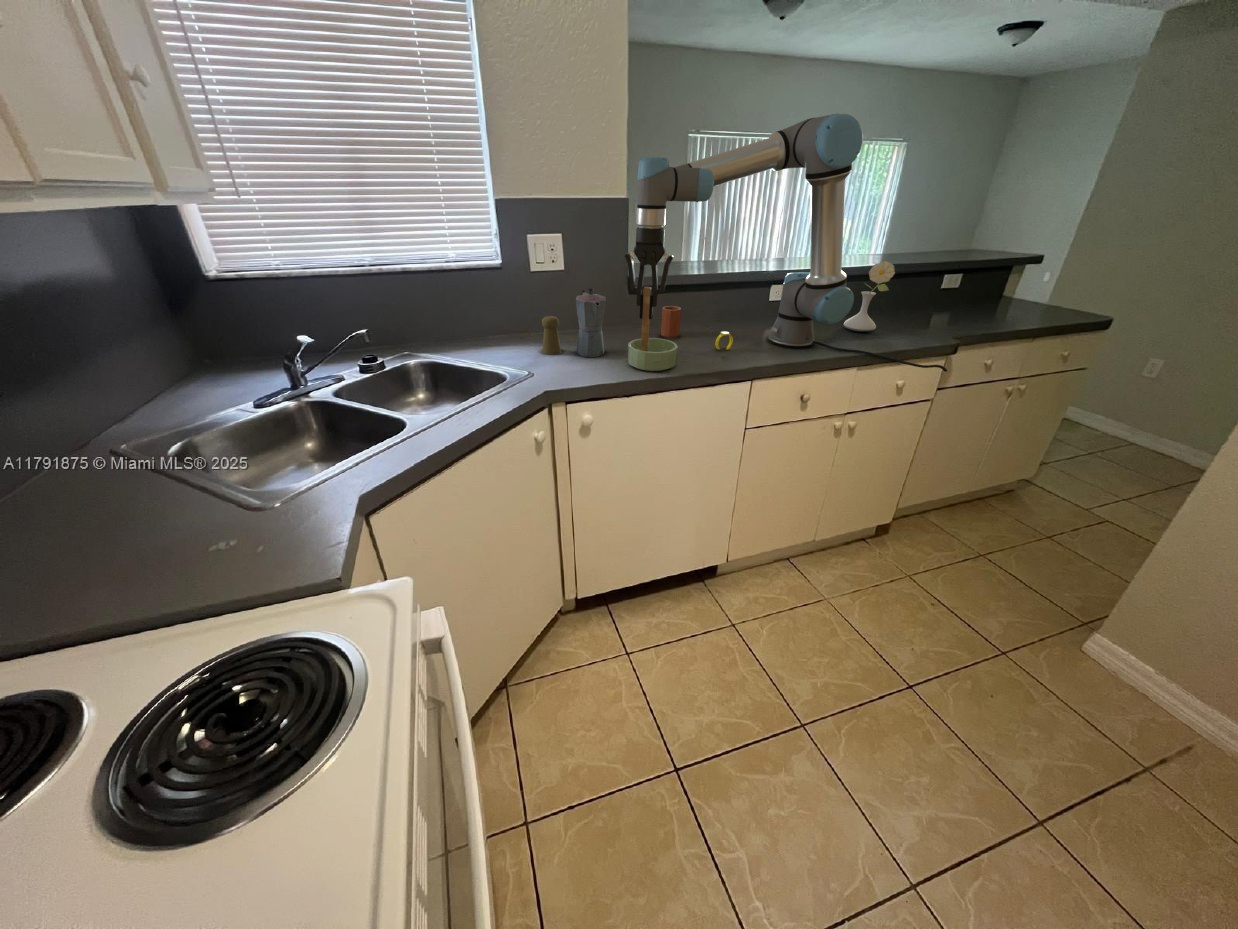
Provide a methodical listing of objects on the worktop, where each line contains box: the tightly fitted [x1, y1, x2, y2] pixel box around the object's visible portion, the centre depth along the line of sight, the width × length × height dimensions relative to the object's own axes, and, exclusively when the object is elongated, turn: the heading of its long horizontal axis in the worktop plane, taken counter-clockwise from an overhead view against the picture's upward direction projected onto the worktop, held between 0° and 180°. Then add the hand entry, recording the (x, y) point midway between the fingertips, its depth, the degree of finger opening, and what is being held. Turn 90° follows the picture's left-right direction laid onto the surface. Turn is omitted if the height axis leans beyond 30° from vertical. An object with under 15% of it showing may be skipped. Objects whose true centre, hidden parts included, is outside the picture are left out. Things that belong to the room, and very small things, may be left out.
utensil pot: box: [660, 305, 682, 338], centre depth 170 cm, size 6×6×10 cm
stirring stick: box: [640, 286, 653, 352], centre depth 140 cm, size 2×2×20 cm
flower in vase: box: [843, 260, 896, 333], centre depth 179 cm, size 13×11×25 cm
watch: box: [714, 330, 734, 351], centre depth 159 cm, size 6×3×6 cm, turn 115°
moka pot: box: [575, 288, 607, 358], centre depth 150 cm, size 10×15×20 cm, turn 27°
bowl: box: [627, 337, 678, 372], centre depth 145 cm, size 15×15×6 cm
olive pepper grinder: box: [541, 315, 562, 356], centre depth 153 cm, size 6×6×11 cm
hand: (646, 317), depth 139 cm, fingers closed on stirring stick, 2 cm apart
